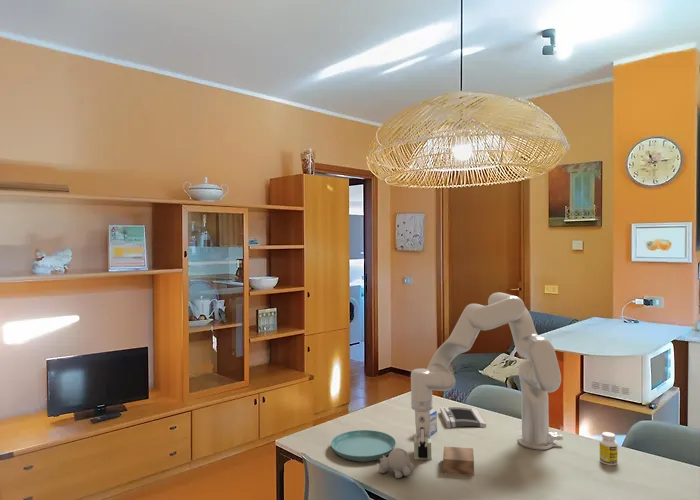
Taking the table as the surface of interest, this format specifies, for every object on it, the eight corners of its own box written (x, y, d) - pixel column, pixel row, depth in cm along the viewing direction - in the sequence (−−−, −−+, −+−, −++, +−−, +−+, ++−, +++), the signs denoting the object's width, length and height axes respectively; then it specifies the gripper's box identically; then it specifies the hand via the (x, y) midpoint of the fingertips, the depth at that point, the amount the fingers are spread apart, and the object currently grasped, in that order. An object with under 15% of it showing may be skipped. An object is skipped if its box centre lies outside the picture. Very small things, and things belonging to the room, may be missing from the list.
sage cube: (431, 452, 182) (430, 436, 181) (431, 459, 176) (431, 442, 175) (414, 451, 182) (414, 435, 182) (414, 458, 176) (414, 442, 176)
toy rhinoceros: (386, 475, 171) (377, 450, 172) (417, 467, 166) (407, 442, 167) (378, 484, 164) (369, 459, 165) (410, 476, 159) (400, 450, 161)
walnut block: (473, 462, 173) (473, 448, 173) (474, 476, 163) (473, 461, 163) (444, 460, 175) (444, 446, 175) (443, 473, 166) (443, 459, 165)
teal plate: (409, 448, 186) (408, 439, 186) (366, 472, 168) (366, 462, 168) (361, 432, 202) (360, 424, 202) (317, 452, 185) (317, 443, 184)
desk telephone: (440, 406, 221) (476, 402, 221) (441, 416, 221) (477, 413, 221) (447, 421, 204) (486, 417, 203) (448, 432, 204) (487, 428, 204)
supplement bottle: (610, 467, 166) (610, 438, 166) (596, 461, 171) (595, 433, 171) (621, 463, 169) (620, 435, 169) (606, 457, 174) (606, 429, 173)
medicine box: (428, 438, 194) (427, 416, 194) (418, 435, 197) (417, 414, 196) (437, 431, 200) (437, 410, 200) (427, 429, 203) (427, 408, 203)
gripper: (433, 412, 169) (434, 464, 170) (431, 396, 186) (432, 443, 187) (410, 412, 170) (412, 463, 171) (411, 395, 188) (412, 443, 188)
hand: (422, 452), depth 179 cm, fingers closed on sage cube, 6 cm apart
